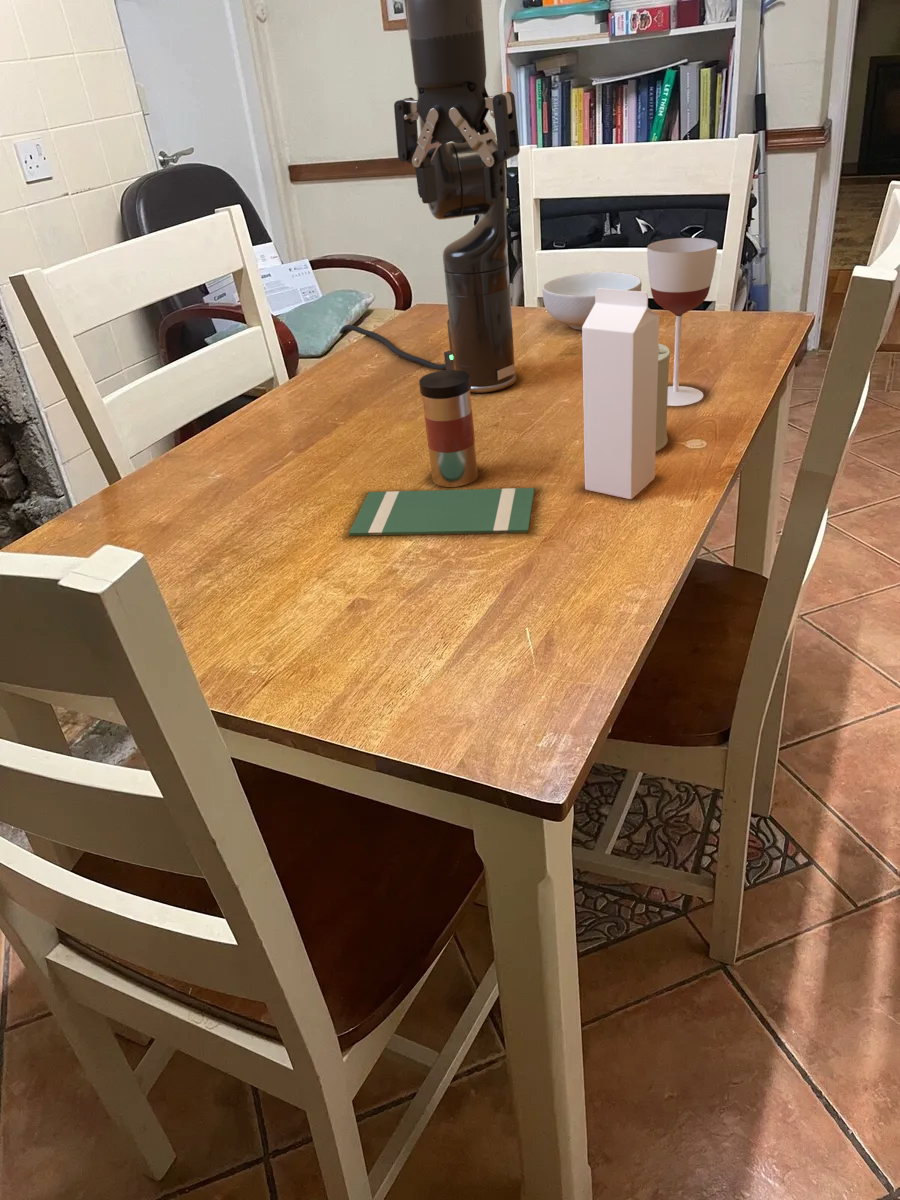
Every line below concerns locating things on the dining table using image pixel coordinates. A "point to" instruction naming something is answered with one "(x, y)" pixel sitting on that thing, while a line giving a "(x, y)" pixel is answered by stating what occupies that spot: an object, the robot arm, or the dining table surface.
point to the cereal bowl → (582, 294)
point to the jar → (449, 427)
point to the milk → (620, 392)
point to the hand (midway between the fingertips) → (461, 202)
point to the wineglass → (681, 292)
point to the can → (662, 396)
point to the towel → (445, 512)
